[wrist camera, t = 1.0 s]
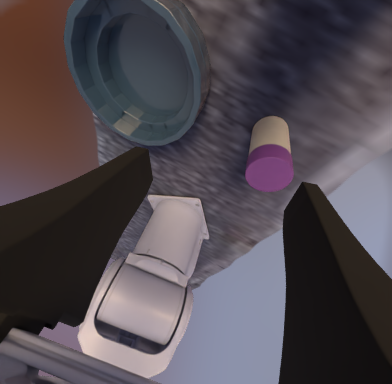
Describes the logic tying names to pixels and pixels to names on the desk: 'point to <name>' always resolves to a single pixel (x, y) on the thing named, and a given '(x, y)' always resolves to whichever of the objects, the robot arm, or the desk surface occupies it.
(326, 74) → the desk surface
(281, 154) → the glue stick
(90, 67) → the dish
